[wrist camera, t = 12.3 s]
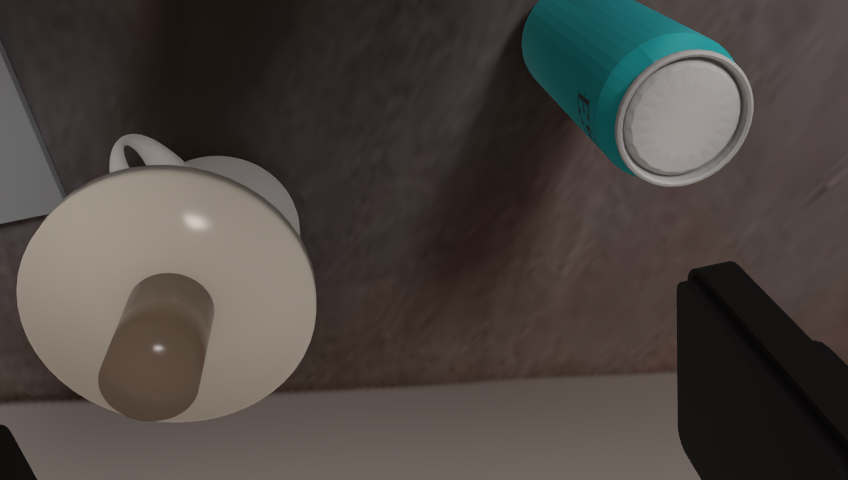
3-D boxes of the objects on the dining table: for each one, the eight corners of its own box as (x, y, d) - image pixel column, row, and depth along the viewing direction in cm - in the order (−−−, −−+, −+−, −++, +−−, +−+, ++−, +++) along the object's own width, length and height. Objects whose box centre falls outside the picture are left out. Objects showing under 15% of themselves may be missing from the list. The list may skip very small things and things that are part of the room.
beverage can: (544, 104, 43) (647, 221, 30) (494, 15, 41) (582, 101, 27) (636, 46, 42) (783, 141, 29) (590, -48, 40) (729, 9, 27)
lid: (-24, 197, 31) (-96, 275, 25) (279, 138, 31) (271, 202, 26) (87, 429, 36) (47, 533, 31) (341, 375, 37) (346, 469, 31)
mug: (212, 67, 40) (182, 137, 31) (327, 247, 46) (332, 354, 36) (70, 143, 41) (-2, 235, 31) (200, 311, 46) (172, 432, 37)
